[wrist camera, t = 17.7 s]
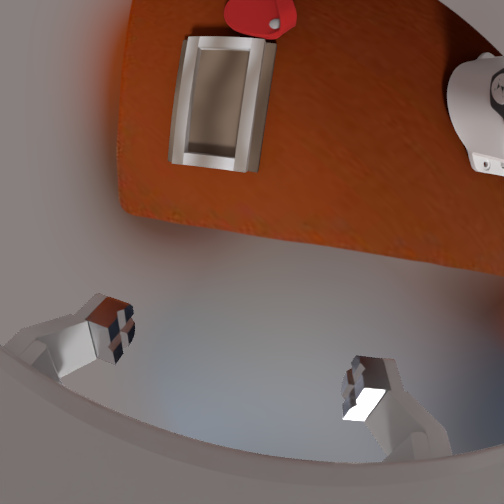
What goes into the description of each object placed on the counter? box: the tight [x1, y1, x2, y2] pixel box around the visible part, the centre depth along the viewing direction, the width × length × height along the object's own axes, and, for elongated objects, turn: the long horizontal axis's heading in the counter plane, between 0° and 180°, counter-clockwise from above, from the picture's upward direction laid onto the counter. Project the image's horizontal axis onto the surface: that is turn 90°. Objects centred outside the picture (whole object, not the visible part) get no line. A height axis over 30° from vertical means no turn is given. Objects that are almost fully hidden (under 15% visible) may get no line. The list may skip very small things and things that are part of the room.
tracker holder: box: [224, 0, 297, 39], centre depth 25 cm, size 12×4×10 cm
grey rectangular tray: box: [168, 36, 277, 173], centre depth 32 cm, size 12×17×3 cm
